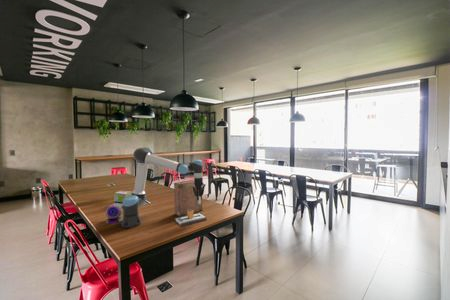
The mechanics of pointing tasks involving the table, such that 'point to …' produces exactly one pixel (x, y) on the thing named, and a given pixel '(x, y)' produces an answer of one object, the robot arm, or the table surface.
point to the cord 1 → (184, 216)
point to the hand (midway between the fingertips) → (199, 203)
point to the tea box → (120, 197)
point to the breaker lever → (190, 213)
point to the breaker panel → (186, 219)
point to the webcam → (114, 213)
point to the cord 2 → (193, 221)
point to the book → (185, 198)
